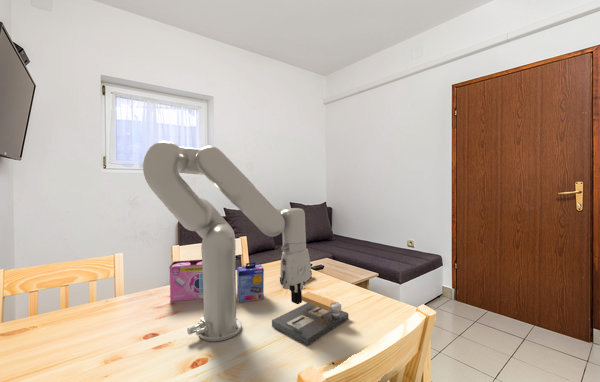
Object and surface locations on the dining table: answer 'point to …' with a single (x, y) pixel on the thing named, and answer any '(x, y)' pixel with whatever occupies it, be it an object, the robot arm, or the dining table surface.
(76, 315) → the dining table surface
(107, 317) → the dining table surface
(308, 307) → the grey flat block
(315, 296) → the swing arm
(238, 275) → the ink cartridge box
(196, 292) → the gum box
